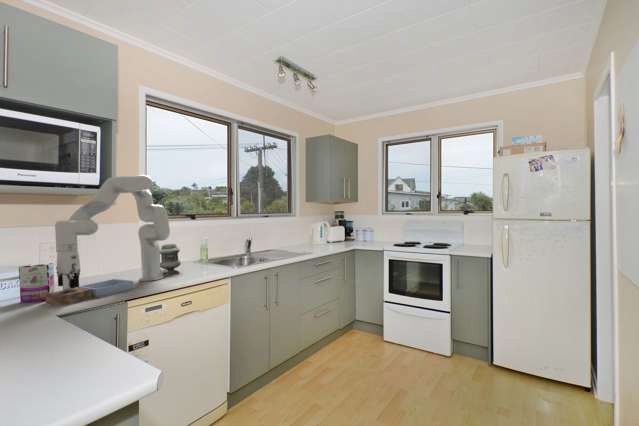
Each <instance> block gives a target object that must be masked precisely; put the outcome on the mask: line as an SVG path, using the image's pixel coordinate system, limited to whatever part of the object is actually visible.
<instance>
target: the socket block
mask: <svg viewBox="0 0 639 426" xmlns="http://www.w3.org/2000/svg"><path fill="white" fill-rule="evenodd" d="M74 291H75V292H71V293H67V294H63V289H61V290H58V291H55V292H52V293H48V294H46V301H45V303H46V304H50V305H54V306H60V307H63V306H66V305H69V304H75V303H78V302H81V301H86V300H90V299H92V298H93V297H92V296H91V289H84V288H77V287H75V288H74Z"/></svg>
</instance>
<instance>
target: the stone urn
mask: <svg viewBox="0 0 639 426" xmlns="http://www.w3.org/2000/svg"><path fill="white" fill-rule="evenodd" d="M179 252H180V247H178V245H177V243H167V244H166V243H165V244H162V245H161V248H160V269H162V270H166V269H167V270H168V272H167V273H163V274H162V275H163V276H167V275H174V274H175V275H176V274H178V273H179V272H180V271H179V270H177V269H176V268H178V267H180V265H181V264H182V263H181V261H180V260H179Z"/></svg>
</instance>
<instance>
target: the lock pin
mask: <svg viewBox="0 0 639 426" xmlns="http://www.w3.org/2000/svg"><path fill="white" fill-rule="evenodd" d="M72 275H74V274H72ZM62 278H63V286H62V290H63V294H67V293H71V292H75V291H74V288H70V279H71V277H70V275H69V274H62Z"/></svg>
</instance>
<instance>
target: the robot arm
mask: <svg viewBox="0 0 639 426" xmlns="http://www.w3.org/2000/svg"><path fill="white" fill-rule="evenodd" d="M152 186H153V180H152V178H151V177H150V176H149V175H146V174H137V175H127V176H126V175H124V176H123V175H122V176H113V177H112V176H111V177H109V178H107V179H106V180H105V181H104V182H103V184H102V185H101V186H100V188H99V189H98V191H97V192H96V193H95V194H94V196H93V197H92V198H91V199H90V200H88V201H87V202H85V203H84V204H83V205H81V206H80V207H79V208H77V210H75V212H73V214H71V216H70V218H69V219H68V220H66V219H65V220H57V221H56V222H55V223H54V230H55V231H54V232H55V253H56V266H55V270H56V274H57V275H56V276H57V286H58V287H63V278H62V274H69V275H70V277H71V279H70V288H76V287H79V286H80V275H81V263H80V262H81V261H80V255H79V252H78V251H79V250H78V247H79V246H78V236H91V235H94V234H95V233H97V232H98V229H99V225H98V223H97V222H96V221H95V220H92V218H94V217H95V216H96V215H98V214H101V213H103V212H106V211H107V210H110V208H111V207H112V206H113V204H114V203H115V201H116V200H117V198H118V197H119V196H120V195H121V194H129V193H131V195H133V197H134V199H135V203H136V204H135V205H136V209H137V214H138V218H139V220H140V221H141V222H144V224H143V225H141V226H140V227H139V229H138V231H137V234H138V235H137V236H138V239H139V243H140V259H141V276H140V277H138V281H140V282H149V281H157V280H161V279H163V278H164V276H165V275H163V273H167V272H168V270H167V269H162V268H161V267H160V263H161V254H160V249H161V248H160V244H159V242H160V241H162V242H163V241H165V240H168V238H169V236H170V235H171V234H170V233H171V229H170V228H171V227H170V221H169V215H168V211H167V209H166V208H165V206H163V205H162V204H161V205H160V204H155V203H154V199H153V195H152V193H151V191H150V189H151V188H152ZM145 223H146V224H145ZM158 241H159V242H158ZM72 274H74V275H72Z"/></svg>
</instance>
